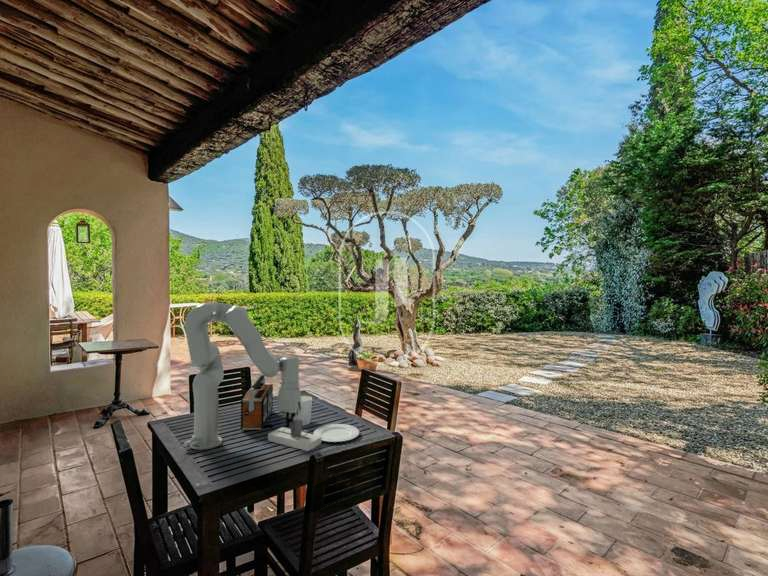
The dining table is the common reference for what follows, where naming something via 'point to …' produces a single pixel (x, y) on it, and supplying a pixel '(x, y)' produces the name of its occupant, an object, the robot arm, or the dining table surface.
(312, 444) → the fader console
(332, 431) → the plate
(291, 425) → the fader knob
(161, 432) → the dining table surface
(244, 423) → the radio cassette player
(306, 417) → the candle holder
